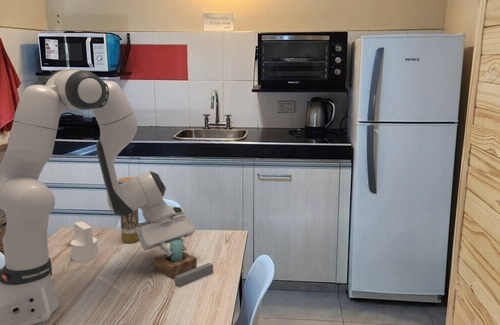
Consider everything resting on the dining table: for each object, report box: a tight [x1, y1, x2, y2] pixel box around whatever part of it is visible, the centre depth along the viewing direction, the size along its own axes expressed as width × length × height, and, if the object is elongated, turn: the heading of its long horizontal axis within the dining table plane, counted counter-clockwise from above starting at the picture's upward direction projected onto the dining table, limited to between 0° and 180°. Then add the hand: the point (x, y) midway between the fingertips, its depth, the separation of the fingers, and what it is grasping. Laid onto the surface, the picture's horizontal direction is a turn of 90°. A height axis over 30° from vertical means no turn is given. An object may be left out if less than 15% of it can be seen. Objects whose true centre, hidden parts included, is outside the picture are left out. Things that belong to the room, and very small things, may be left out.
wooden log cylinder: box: [117, 176, 140, 244], centre depth 182 cm, size 7×7×25 cm
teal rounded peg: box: [169, 240, 184, 263], centre depth 155 cm, size 4×4×8 cm
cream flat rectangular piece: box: [174, 262, 214, 288], centre depth 156 cm, size 14×20×4 cm
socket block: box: [153, 251, 198, 279], centre depth 156 cm, size 10×10×4 cm
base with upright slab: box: [70, 221, 99, 263], centre depth 168 cm, size 9×9×12 cm
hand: (177, 252), depth 154 cm, fingers closed on teal rounded peg, 4 cm apart
